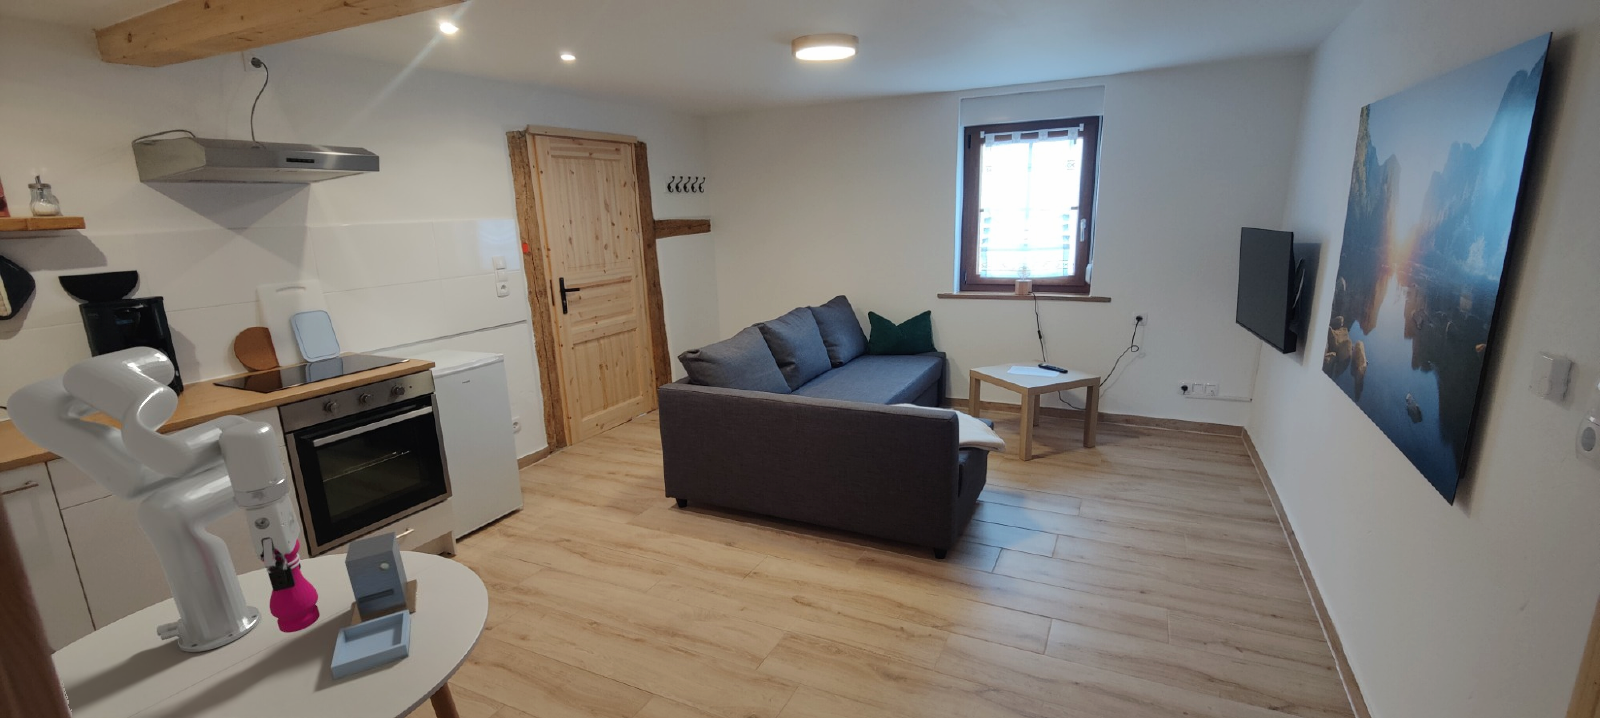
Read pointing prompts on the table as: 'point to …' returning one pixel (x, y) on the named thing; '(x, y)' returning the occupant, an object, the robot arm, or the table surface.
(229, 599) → the robot arm
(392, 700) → the table surface
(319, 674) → the table surface
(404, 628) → the parts tray
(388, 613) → the control unit
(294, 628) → the pepper mill
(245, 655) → the table surface
